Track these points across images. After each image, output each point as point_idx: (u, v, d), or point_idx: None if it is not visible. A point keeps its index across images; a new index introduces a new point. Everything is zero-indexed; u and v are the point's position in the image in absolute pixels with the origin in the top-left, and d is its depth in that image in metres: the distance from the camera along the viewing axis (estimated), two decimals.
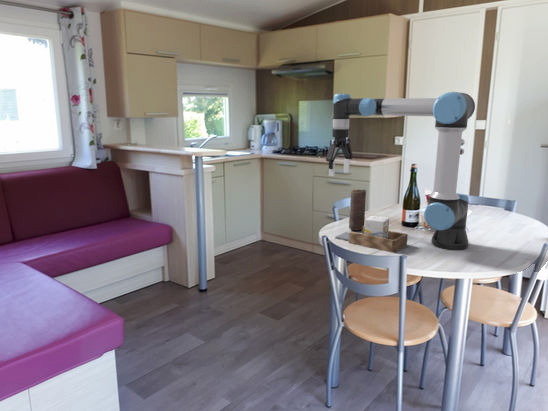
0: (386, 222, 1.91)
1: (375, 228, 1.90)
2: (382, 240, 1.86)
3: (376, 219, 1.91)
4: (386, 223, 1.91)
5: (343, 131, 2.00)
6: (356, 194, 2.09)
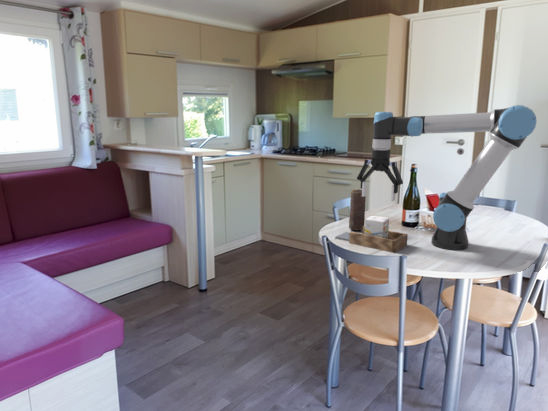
0: (386, 222, 1.91)
1: (375, 228, 1.90)
2: (382, 240, 1.86)
3: (376, 219, 1.91)
4: (386, 223, 1.91)
5: (372, 152, 1.86)
6: (356, 194, 2.09)
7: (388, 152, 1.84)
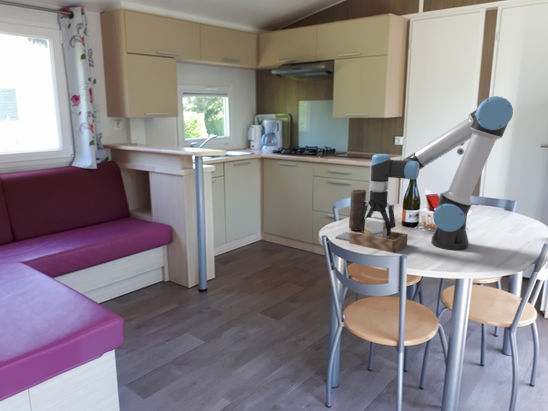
0: None
1: (375, 228, 1.90)
2: (382, 240, 1.86)
3: (376, 219, 1.91)
4: None
5: (370, 193, 1.90)
6: (356, 194, 2.09)
7: (385, 194, 1.88)
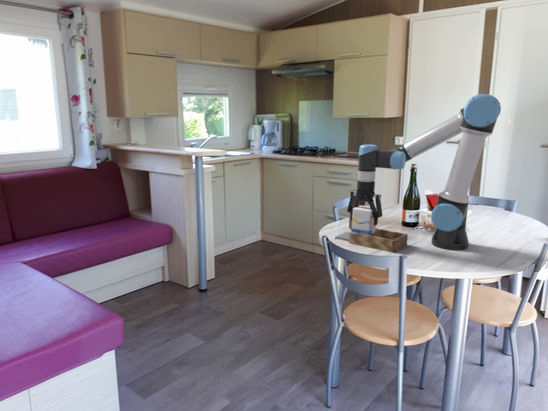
0: None
1: (362, 217, 1.93)
2: (382, 240, 1.86)
3: (363, 208, 1.95)
4: None
5: (358, 183, 1.93)
6: (356, 194, 2.09)
7: (373, 183, 1.91)
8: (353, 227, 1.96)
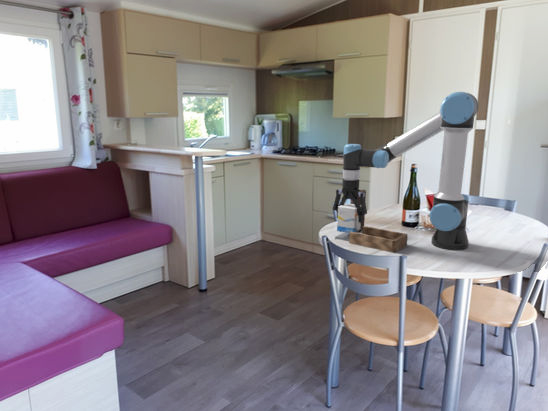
0: None
1: (347, 215, 1.98)
2: (382, 240, 1.86)
3: (348, 206, 1.99)
4: None
5: (343, 181, 1.98)
6: None
7: (357, 182, 1.96)
8: (339, 224, 2.01)
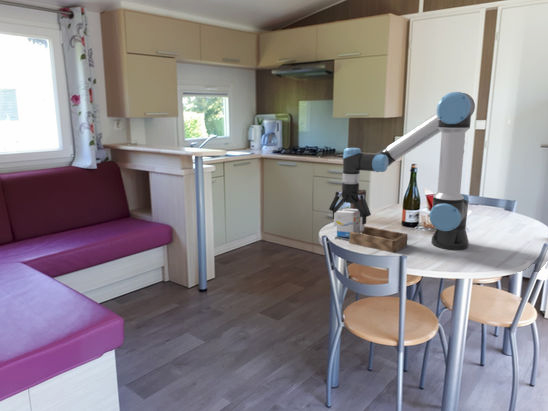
0: (356, 213, 2.00)
1: (346, 219, 1.99)
2: (382, 240, 1.86)
3: (346, 211, 2.01)
4: (356, 214, 2.00)
5: (342, 185, 1.98)
6: None
7: (357, 186, 1.96)
8: (338, 229, 2.02)
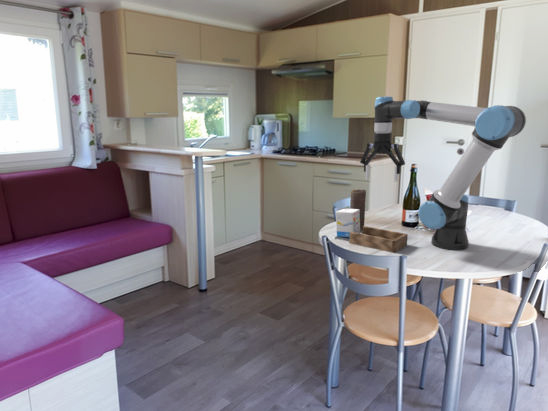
0: (356, 213, 2.00)
1: (345, 219, 1.99)
2: (382, 240, 1.86)
3: (346, 211, 2.01)
4: (356, 214, 2.00)
5: (375, 135, 1.95)
6: (356, 194, 2.09)
7: (390, 135, 1.93)
8: (338, 230, 2.02)
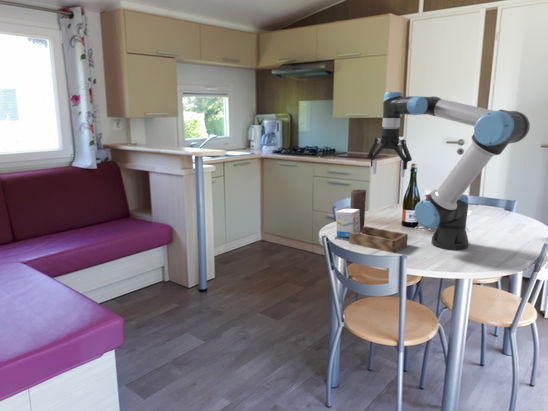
0: (356, 213, 2.00)
1: (345, 219, 1.99)
2: (382, 240, 1.86)
3: (346, 211, 2.01)
4: (356, 214, 2.00)
5: (382, 130, 1.95)
6: (356, 194, 2.09)
7: (397, 130, 1.93)
8: (338, 230, 2.02)
